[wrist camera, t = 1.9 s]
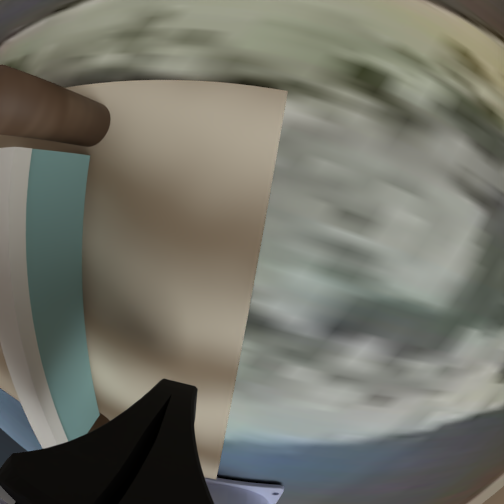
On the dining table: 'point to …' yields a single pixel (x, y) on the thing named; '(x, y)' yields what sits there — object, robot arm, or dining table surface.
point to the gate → (45, 290)
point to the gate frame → (160, 228)
